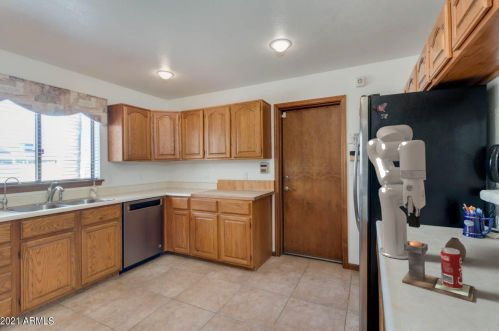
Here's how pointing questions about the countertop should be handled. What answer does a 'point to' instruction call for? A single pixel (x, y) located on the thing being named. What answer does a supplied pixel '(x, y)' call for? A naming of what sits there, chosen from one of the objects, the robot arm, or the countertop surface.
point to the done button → (415, 243)
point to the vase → (456, 246)
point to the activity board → (429, 282)
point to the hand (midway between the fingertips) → (414, 226)
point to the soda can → (451, 268)
